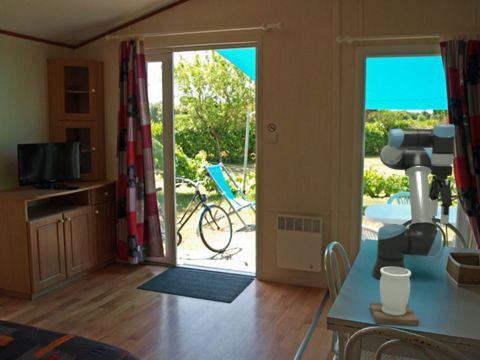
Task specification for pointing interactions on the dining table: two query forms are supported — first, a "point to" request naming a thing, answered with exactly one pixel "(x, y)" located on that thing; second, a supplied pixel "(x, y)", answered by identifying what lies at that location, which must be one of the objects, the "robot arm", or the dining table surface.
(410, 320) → the walnut stand
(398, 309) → the jar
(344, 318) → the dining table surface
